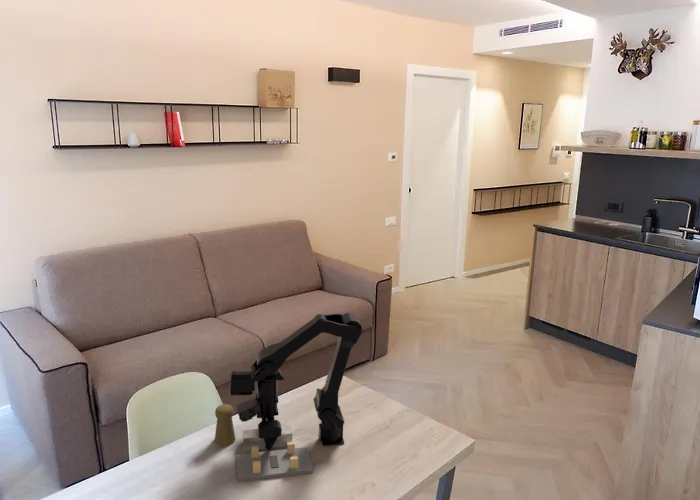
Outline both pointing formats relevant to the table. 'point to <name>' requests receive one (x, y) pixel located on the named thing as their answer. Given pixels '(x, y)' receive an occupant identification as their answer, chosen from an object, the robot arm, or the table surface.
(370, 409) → the table surface
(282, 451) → the plate
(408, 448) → the table surface
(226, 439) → the cork
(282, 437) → the air duct
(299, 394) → the table surface
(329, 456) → the table surface
